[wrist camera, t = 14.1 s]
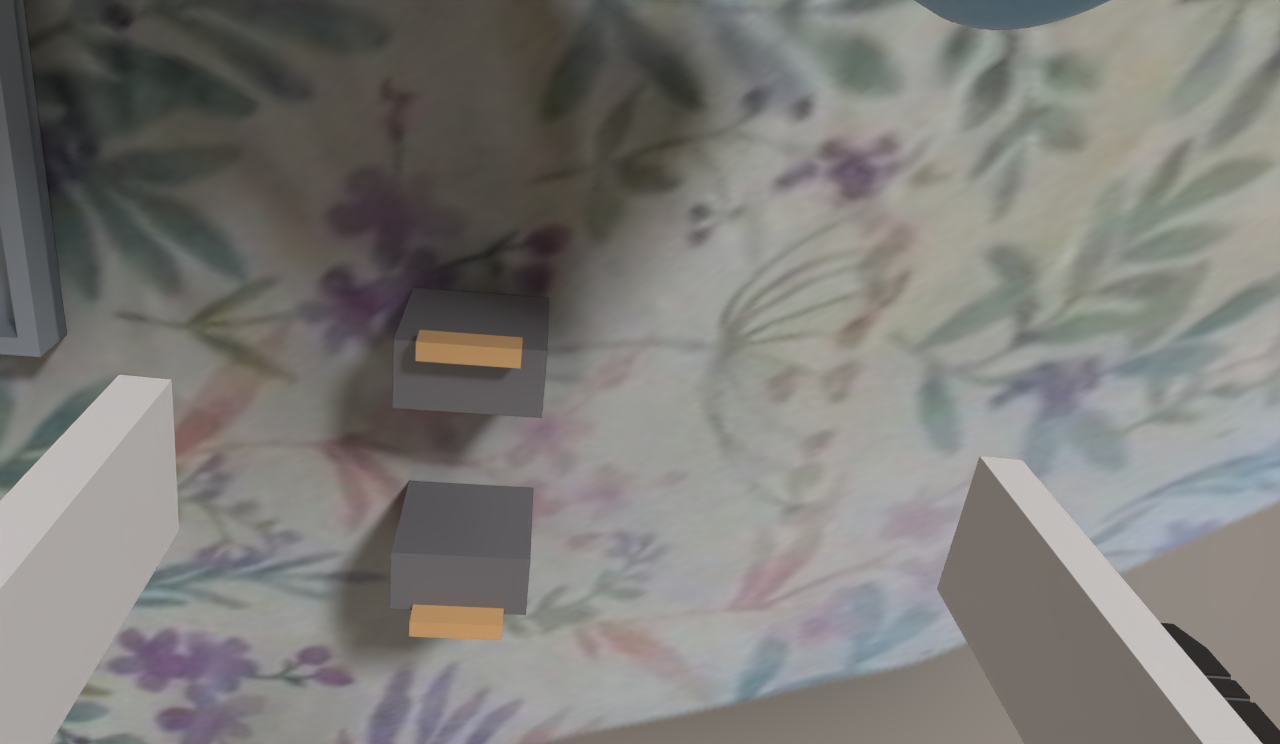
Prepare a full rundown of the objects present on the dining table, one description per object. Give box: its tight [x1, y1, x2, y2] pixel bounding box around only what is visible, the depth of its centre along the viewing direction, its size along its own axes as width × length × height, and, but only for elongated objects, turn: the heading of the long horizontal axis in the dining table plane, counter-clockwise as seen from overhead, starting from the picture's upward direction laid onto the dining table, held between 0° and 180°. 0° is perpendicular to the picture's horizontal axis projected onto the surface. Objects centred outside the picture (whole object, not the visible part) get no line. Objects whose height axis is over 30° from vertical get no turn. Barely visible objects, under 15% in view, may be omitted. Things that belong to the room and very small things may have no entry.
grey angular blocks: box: [390, 287, 548, 640], centre depth 44 cm, size 14×6×7 cm, turn 174°
